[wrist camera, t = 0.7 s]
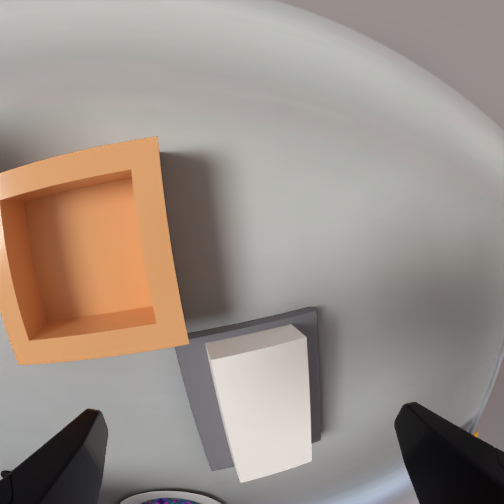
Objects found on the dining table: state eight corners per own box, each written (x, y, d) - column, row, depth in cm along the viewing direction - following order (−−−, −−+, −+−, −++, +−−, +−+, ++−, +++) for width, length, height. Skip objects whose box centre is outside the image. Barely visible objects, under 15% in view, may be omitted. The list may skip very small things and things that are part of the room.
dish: (184, 319, 20) (189, 343, 16) (39, 340, 17) (18, 365, 13) (159, 151, 18) (157, 136, 14) (9, 184, 15) (-20, 180, 11)
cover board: (300, 443, 23) (311, 461, 20) (233, 462, 21) (240, 482, 19) (291, 323, 21) (306, 337, 18) (205, 343, 19) (210, 360, 17)
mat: (316, 434, 24) (320, 440, 23) (209, 463, 22) (211, 471, 21) (310, 306, 22) (316, 310, 21) (173, 335, 20) (173, 341, 19)
